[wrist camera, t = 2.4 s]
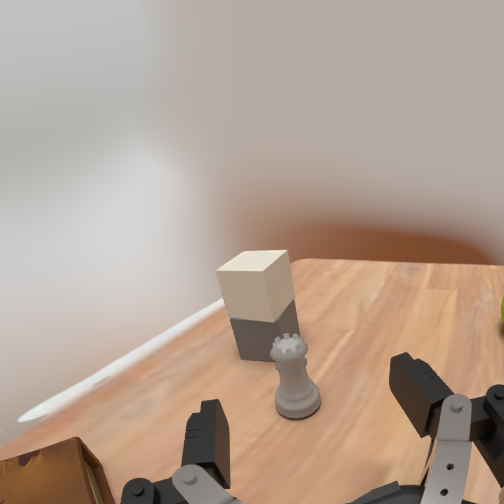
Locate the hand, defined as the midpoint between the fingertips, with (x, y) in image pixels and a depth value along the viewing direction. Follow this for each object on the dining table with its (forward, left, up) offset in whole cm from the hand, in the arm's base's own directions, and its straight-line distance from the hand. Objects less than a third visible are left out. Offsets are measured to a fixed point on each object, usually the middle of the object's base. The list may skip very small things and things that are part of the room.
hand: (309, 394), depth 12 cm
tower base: (-17, -15, -13) cm, 26 cm away
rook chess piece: (-9, -7, -13) cm, 17 cm away
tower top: (-17, -15, -7) cm, 23 cm away
